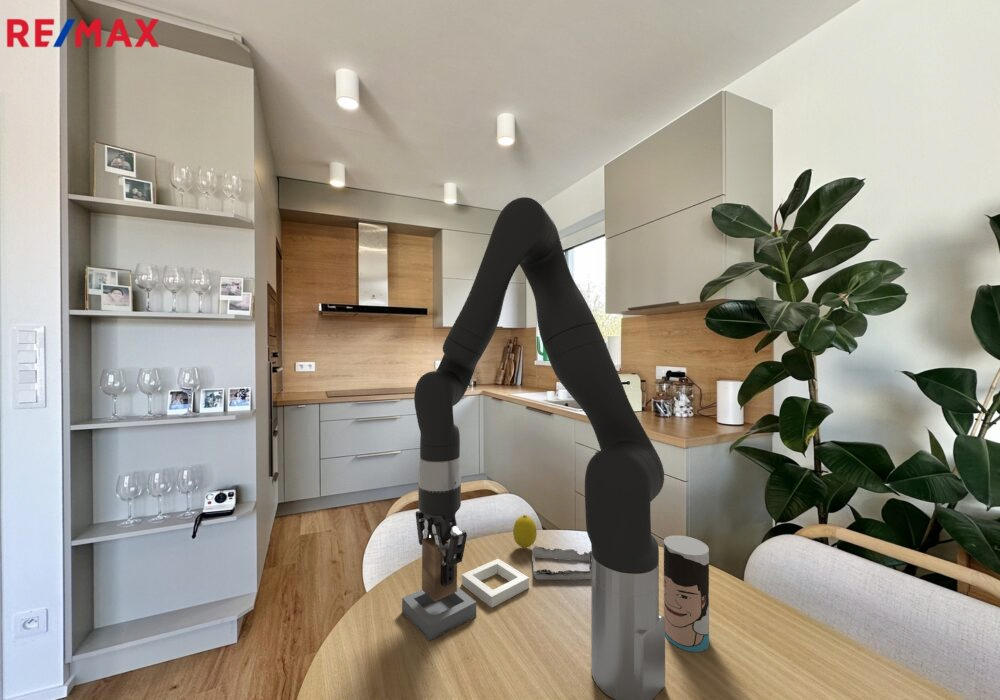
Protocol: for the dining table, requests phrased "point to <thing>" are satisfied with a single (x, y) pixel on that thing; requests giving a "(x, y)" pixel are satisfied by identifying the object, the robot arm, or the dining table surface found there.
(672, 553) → the cup
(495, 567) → the white pocket frame
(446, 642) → the dining table surface
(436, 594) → the walnut block
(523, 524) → the lemon
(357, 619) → the dining table surface
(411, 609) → the gray pocket tray
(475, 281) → the robot arm
